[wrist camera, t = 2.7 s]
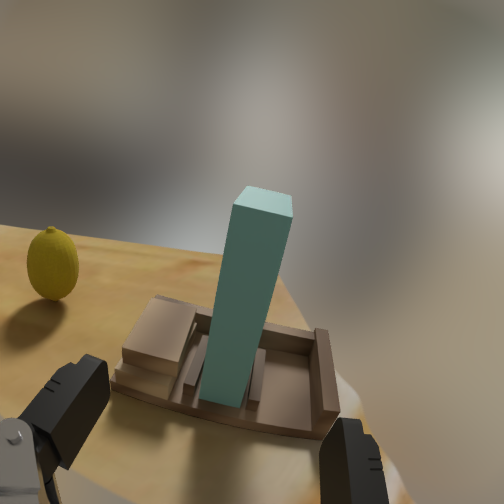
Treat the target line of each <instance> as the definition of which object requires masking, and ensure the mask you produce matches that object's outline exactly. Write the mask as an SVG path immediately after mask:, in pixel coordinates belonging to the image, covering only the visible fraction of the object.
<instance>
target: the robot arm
mask: <svg viewBox="0 0 504 504" xmlns="http://www.w3.org/2000/svg"><path fill="white" fill-rule="evenodd" d="M109 397H110V383H109V375H108V366H107V362H106V361H104V360H101V359H99V358H96V357H94V356H91V355H89V354H85V355H84V356H83V357H82V358H81V359H80V361H79V362H78V363H77V364H73V363H71V362H70V363H68V364H67V365H65V366H63V367H61V368H59V369H58V370H57V371H56V372H55V374H54V375H53V376H52V377H51V379H50V380H49V381H48V382H47V383H46V384H45V386H44V388H42V389H41V390H40V392H39V393H38V394H37V395H36V396H35V398H34V399H33V400H32V401H31V403H30V404H29V405H28V406H27V408H26V409H25V410H24V411H23V413H22V414H21V415H20V416H19V417H18V418H7V419H4V420H2V421H1V422H0V504H62V502H61V498H60V494H59V490H58V486H57V482H56V478H55V473H54V472H55V470H56V469H57V467H58V465H59V466H60V467H62V468H64V469H66V470H69V468H70V466H71V465H72V463H73V461H74V459H75V458H76V456H77V454H78V453H79V451H80V449H81V447H82V446H83V444H84V442H85V441H86V439H87V437H88V435H89V434H90V432H91V430H92V429H93V427H94V425H95V424H96V422H97V420H98V419H99V417H100V415H101V414H102V412H103V410H104V409H105V407H106V405H107V403H108V401H109ZM319 464H320V495H321V504H389V499H388V494H387V488H386V482H385V477H384V471H382V469H383V466H382V461H381V456H380V451H379V446H378V445H377V443H376V442H375V440H374V439H373V437H372V436H371V435H370V434H364V432H363V426H362V422H361V420H360V419H351V418H341V417H339V418H337V420H336V421H335V423H334V424H333V426H332V428H331V429H330V431H329V433H328V434H327V436H326V437H325V439H324V440H323V442H322V445H321V448H320V453H319Z"/></svg>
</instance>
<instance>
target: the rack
mask: <svg viewBox="0 0 504 504" xmlns="http://www.w3.org/2000/svg"><path fill="white" fill-rule="evenodd" d="M155 298H156V299H160V300H164V301H169V302H173V303H177V304H182V305H186V306H190V307H195V308H197V311H196V318H195V323H197V327H196V334H195V338H194V340H193V343H192V345H191V347H190V349H189V352H188V354H187V356H186V359H185V361H184V363H183V365H182V368H181V370H180V372H179V375H178V377H177V379H176V382H175V384H174V386H173V389H172V391H171V393H170V395H169V398H168V400H165V399H162V398H159V397H156V396H152V395H149V394H146V393H143V392H141V391H138V390H135V389H132V388H129V387H126V386H124V385H121V384H118V383H116V380H115V373H114V375H113V376H112V378H111V379H110V385H111V389H112V390H115V391H117V392H120V393H123V394H125V395H128V396H131V397H134V398H136V399H139V400H142V401H145V402H148V403H151V404H154V405H157V406H160V407H164V408H167V409H170V410H173V411H177V412H180V413H184V414H187V415H191V416H195V417H198V418H202V419H206V420H210V421H214V422H218V423H223V424H227V425H231V426H236V427H241V428H245V429H250V430H256V431H261V432H267V433H272V434H278V435H285V436H291V437H299V438H306V439H315V440H323V439H324V437H325V436H326V434H327V433H328V431H329V429H330V428H331V426H332V425H333V423H334V421H335V420H336V418H337V417H338V415H339V413H340V405H339V398H338V391H337V384H336V377H335V371H334V364H333V359H332V352H331V346H330V340H329V334H328V330H324V329H319V328H315V330H314V332H311V331H306V330H301V329H296V328H291V327H287V326H282V325H277V324H273V323H268V322H265V323H264V327H263V330H262V334H261V337H260V341H259V345H258V348H257V351H256V355H255V358H254V362H253V365H252V369H251V372H250V375H249V379H248V382H247V386H246V389H245V392H244V396H243V399H242V402H241V406H240V408H236V407H232V406H228V405H223V404H219V403H215V402H211V401H207V400H203V399H199V392H200V386H201V379H202V373H203V367H204V361H205V355H206V349H207V343H208V337H209V331H210V326H211V320H212V314H213V309H210V308H206V307H202V306H198V305H194V304H190V303H186V302H183V301H179V300H175V299H172V298H168V297H164V296H161V295H156V296H155Z"/></svg>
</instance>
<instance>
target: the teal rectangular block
mask: <svg viewBox="0 0 504 504" xmlns="http://www.w3.org/2000/svg"><path fill="white" fill-rule="evenodd" d="M292 219H293V213H292V201H291V195H286V194H282V193H278V192H274V191H269V190H265V189H261V188H256V187H251V186H247V187H246V188H245V189H244V191H243V192H242V193H241V194H240V196H239V197H238V198H237V200H236V201H235V202H234V204H233V208H232V212H231V217H230V223H229V228H228V233H227V238H226V244H225V248H224V254H223V259H222V264H221V270H220V275H219V281H218V286H217V292H216V297H215V303H214V308H213V314H212V320H211V326H210V331H209V337H208V343H207V349H206V355H205V361H204V367H203V373H202V379H201V386H200V392H199V399H203V400H207V401H211V402H215V403H219V404H223V405H228V406H232V407H236V408H240V406H241V402H242V399H243V396H244V392H245V389H246V386H247V382H248V379H249V375H250V372H251V369H252V365H253V362H254V358H255V355H256V351H257V348H258V345H259V341H260V337H261V334H262V330H263V327H264V323H265V320H266V316H267V313H268V309H269V305H270V302H271V298H272V294H273V291H274V287H275V283H276V280H277V276H278V272H279V269H280V265H281V261H282V257H283V254H284V250H285V246H286V242H287V238H288V234H289V231H290V227H291V223H292Z"/></svg>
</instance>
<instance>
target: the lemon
mask: <svg viewBox="0 0 504 504" xmlns="http://www.w3.org/2000/svg"><path fill="white" fill-rule="evenodd" d="M27 271H28V276H29V280H30V282H31V285H32V286H33V288H34V289H35V291H36V292H37V293H38V294H39V295H41V296H42V297H44V298H47V299H51V300H53V301H58V300H59V299H61V298H63V297H65V296H67V295H68V294H69V293H70V292H71V291H72V290H73V288H74V287H75V285H76V282H77V278H78V273H79V262H78V256H77V251H76V248H75V245H74V243H73V241H72V240H71V238H70V237H69V236H68V235H67V234H65V233H64V232H62V231H60V230H57V229H56V228H55V227H53V226H52V227H48V228H47V229H46V230H44V231H42V232H40V233H39V234H38V235H37V236H36V237H35V238H34V239H33V240H32V242H31V244H30V247H29V250H28V255H27Z"/></svg>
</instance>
